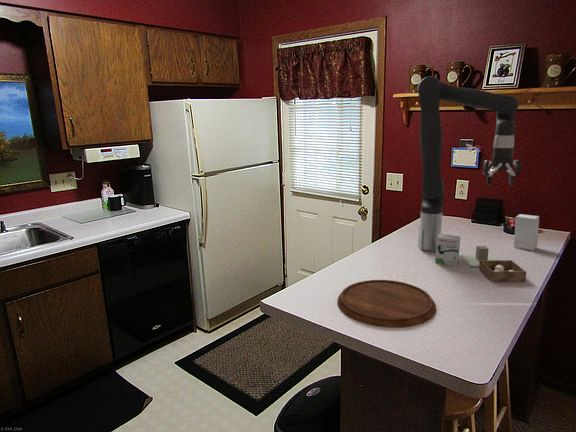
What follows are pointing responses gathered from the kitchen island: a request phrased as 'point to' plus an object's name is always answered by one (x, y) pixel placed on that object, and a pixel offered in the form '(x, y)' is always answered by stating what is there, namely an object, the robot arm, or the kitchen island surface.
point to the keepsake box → (502, 276)
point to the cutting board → (386, 303)
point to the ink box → (447, 249)
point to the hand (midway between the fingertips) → (499, 184)
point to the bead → (499, 268)
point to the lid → (477, 256)
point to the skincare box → (526, 232)
